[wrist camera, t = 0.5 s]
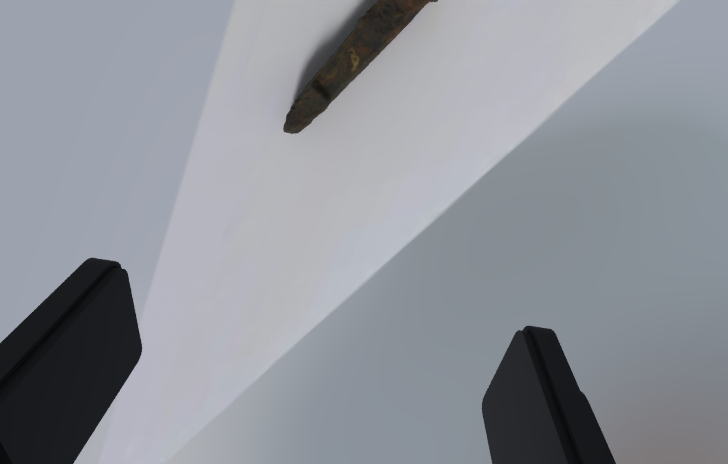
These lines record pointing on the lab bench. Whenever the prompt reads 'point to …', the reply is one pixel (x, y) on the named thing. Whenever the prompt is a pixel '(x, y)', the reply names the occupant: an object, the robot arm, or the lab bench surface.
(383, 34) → the hand tool
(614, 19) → the lab bench surface
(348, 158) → the lab bench surface
